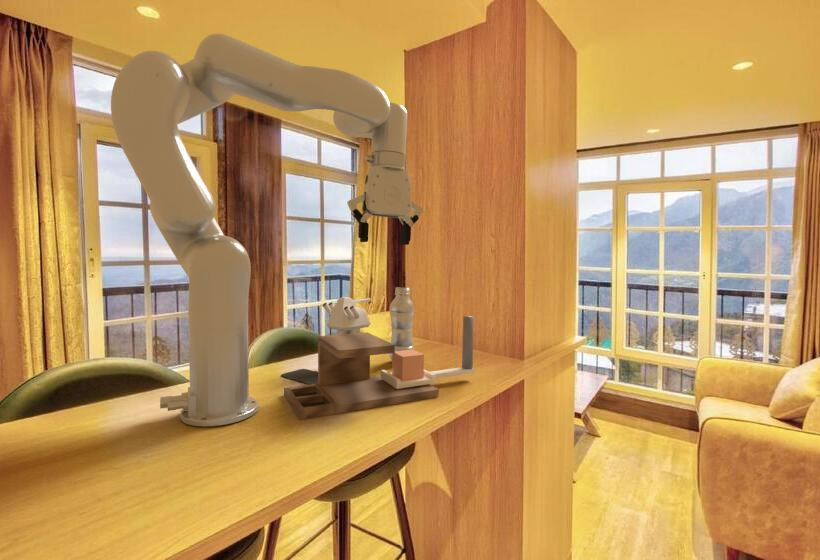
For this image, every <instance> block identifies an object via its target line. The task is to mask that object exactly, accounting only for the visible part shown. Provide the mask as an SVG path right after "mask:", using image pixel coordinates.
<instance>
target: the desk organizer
mask: <svg viewBox="0 0 820 560" xmlns="http://www.w3.org/2000/svg"><path fill="white" fill-rule="evenodd" d="M317 337H318V339H317V341H318V342H317V348H318V349H317V360H318V361H317V365H318V367H317V372H318V384H310V385H306V384H302V385H296V386H289V387H283V396H284V398H285V399H286V401H287V402H288V404H289V405H290V407H291V408H292V411H294V414H295V415H296V416H297V418H298V420H300V421H303V420H308V419H314V418H320V417H324V416H325V417H326V416H331V415H332V416H333V415H337V414H338V415H339V414H342V413H349V412H355V411H362V410H369V409H374V408H380V407H385V405H386V406H392V405H397V403H398V404H402V403H403V404H404V403H409V402H416V401H420V400H421V401H422V400H426V399H433V397H434V398H438V397H437V396H439V395H440V393H439V390H440V389H438V388H437V387H435V386H434V385H433V384H427V385H420V386H414V387H407V388H400V389H396V388H394V387H393V386H392V385H390V384H389V383H387V382H386V381H384V380H383V379H381V374H380V375H374V376H371V375H370V374H371V366H370V365H371V356H378V355H387V354H389V353H395V345H394V344H391V342H389V341H386V340H385V339H382V338H381V337H378V336H376V335H374V334H372V333H369V332H360V333H354V334H341V335H337V334H330V335H328V334H327V335H319V336H317ZM391 404H392V405H391Z"/></svg>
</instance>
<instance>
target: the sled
mask: <svg viewBox="0 0 820 560" xmlns="http://www.w3.org/2000/svg"><path fill="white" fill-rule="evenodd" d="M474 320H475V318H474V315H463V316H462V350H461V351H462V353H461V354H462V358H461V362H462V363H461V367H454V368H446V369H439V370H433V371H432V370H431V371H429V370H426V369H425V368H424V378H419V379H412V380H405V381H402V380H400V379H399V378H397V377H395V376H394V375H392V371H391V372H389V371H388V370H385V369H381V370H380V375H381V379H383V380H384V381H386V382H387V383H389V384H390V385H392V386H393V387H394V388H396V389H400V388H407V387H414V386H420V385H427V384H430V385H433V384H436V379H440V378H447V377H454V376H461V375H467V374H474V373H475V368H474V367H473V365H474V364H473V361H474V358H473V357H474V328H475V327H474V324H475V323H474V322H475V321H474Z"/></svg>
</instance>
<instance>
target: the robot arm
mask: <svg viewBox="0 0 820 560" xmlns="http://www.w3.org/2000/svg"><path fill="white" fill-rule="evenodd" d="M236 95H238V96H240V97H242V98H247V99H249V100H251V101H255V102H258V103H261V104H264V105H266V106H268V107H272V108H275V109H277V110H279V111H283V112H295V113H296V112H304V111H305V112H306V111H310V110H311V111H312V110H326V111H333V117H332V120H333V123H334V125H335V128H336V129H337V131H339V132H340V133H341V134H342V135H345V136H347V137H351V138H360V139H361V138H362V139H363V138H364V139H365V138H366V139H371V144H370V145H371V146H370V147H371V148H370V154H369V155H368V154H366V155H365V156H364V162H366V163H369V167H368V168H367V172H366V175H365V180H364V185H363V190H362V191H363V193H362V195H359V196H356V197H353V198H352V199H349V200H348V201H347V206H348V208H349V211H350V214H351V216H352V217H354V219H355V220H356V222H357V223H358V233H357V234H358V239H359V243H367V242H368V241H369V232H370V231H369V227H370V226H369V225H370V224H369V222H368V220H369V219H370V217H380V218H381V217H382V218H391V219H399V222H400V223H401V224H402V226H401V227H400V238H399V239H400V240H399V241H400V245H402V246H405V245H410V241H411V236H412V227H413V226H414V225H415V223H416V222H417V221H419V219H420V216H421V215H422V212H423V208H422V207H421V206H419V205H418V204H417V203H415V202H414V201H412V185H411V177H410V173H409V171H407V170H406V159H407V158H406V156H407V135H408V134H407V133H408V111H407V109H406V108H405V107H404V106H403V105H401V103H396V102H390V101H389V98H388V96H387V94H386V93H385V92H384V91H383V89H382V88H380V87H379V86H377V85H376V84H374V83H373V82H371V81H368V80H367V79H364V78H363V77H362V78H361V77H359V76H358V75H355V74H353V73H350V72H347V71H343V70H340V69H335V68H334V69H333V68H327V67H326V68H325V67H319V66H311V65H302V64H301V65H300V64H297V63H293V62H291V61H289V60H286V59H284V58H283V57H282V58H281V57H278V56H277V55H275V54H272V53H270V52H268V51H264V50H263V49H260V48H259V47H257V46H253V45H251V44H249V43H247V42H244V41H242V40H239V39H237V38H235V37H232V36H231V35H227V34H223V33H212V34H209V35H207V36H205V37H204V39H201V42H200V43H199V45H198V47H197V48H196V51H195V53H194V57H193V59H191V60H188V61H187V62H185V63H183V64H180V63H179V62H178V61H177V60H176V59H175V58H173V57H172V56H170V55H168V54H167V53H165V52H161V51H158V50H146V51H142V52H139V53H138V54H135V55H134V56H132V57H131V58H130V59H129V60H128V61H127V62H126V63H125V64H124V65H123V66H122V68H121V69H120V71H119V72H118V74H117V76H116V78H115V80H114V83H113V87H112V90H111V96H110V113H111V115H110V116H111V121H112V125H113V128H114V132H115V136H116V137H117V140H118V143H119V145H120V146H121V148H122V150H123V153H124V154H125V157H126V158H127V159H128V162H129V164H130V166H131V168H132V170H133V171H134V173H135V175H136V177H137V180H138V181H139V183H140V184H141V186H142V188H143V189H144V191H145V193H146V195H147V197H148V199H149V202H150V203H149V208H150V209H149V210H150V214H151V217H152V218H153V221H154V224H155V225H156V227H157V228H158V230H159V232H160V234H161V235H162V236H163V238H164V240H165V242H166V244H167V245H168V247H169V249H170V250H171V251H172V253H173V255H174V256H175V259H176V260H177V261H178V263H179V265H180V267H181V268H182V270H183V271H184V272H185V274H186V275H187V277H188V311H187V312H188V313H187V314H188V316H187V317H188V343H189V344H188V347H189V348H188V350H189V351H188V353H189V355H188V356H189V360H188V361H189V386H188V387H187V392H186V391H185V392H181V394H178V395H168V396H160V397H159V407H160V410H161V409H167V411H168V412H169V411H176V410H180V413H179V416H180V417H179V419H180V421H181V422H183V424H186V425H189V426H193V427H217V426H219V427H220V426H224V425H225V426H226V425H230V424H235V423H238V422H241V421H244V420H246V419H248V418H251V416H254V415H255V414H256V412H257V411H258V409H259V402H258V401H257V399H255V398H254V397H251V396H249V395H250V394H249V391H250V389H249V384H250V383H249V376H250V375H249V294H250V284H251V272H252V269H251V268H252V266H251V260H250V257H249V256H250V255H249V253H248V251H247V250H246V248H245V247H244V246H243V244H241V243H240V242H239V241H238V240H237V239H235V238H234V237H230V236H229V235H225V234H224V232H223V231H222V229H221V227H220V225H219V223H218V221H217V220H216V218H215V215H216V210H217V209H216V208H217V207H216V200H215V198H214V195H213V194H212V192H211V191H210V189H209V187H208V186H207V184H206V183H205V180H204V179H203V177H202V176H201V173H200V172H199V170H198V168H197V166H196V164H195V163H194V162H193V161H194V160H192V157H191V156H190V154H189V152H188V150H187V148H186V145H185V143H184V141H183V139H182V137H181V133H180V130H179V127H178V125H179V124H182V123H184V122H186V121H188V120H191V119H193V118H195V117H197V116H199V115H201V114H205V113H207V112H209V111H211V110H213V109H215V108H217V107H219V106H220V105H223V104H225V103H226V102H228V101H230V100H231V99H233V97H235V96H236ZM359 203H362V204H361V210H362V212H360V210H359V209H358V206H357V205H358V204H359ZM412 211H413V213H412ZM411 214H412V216H411Z"/></svg>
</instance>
